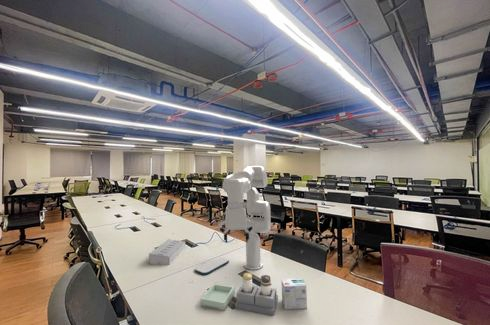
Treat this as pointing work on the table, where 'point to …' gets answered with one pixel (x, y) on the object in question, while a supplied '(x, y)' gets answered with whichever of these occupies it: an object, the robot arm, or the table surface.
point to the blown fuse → (265, 285)
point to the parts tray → (218, 297)
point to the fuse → (247, 283)
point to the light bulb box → (294, 293)
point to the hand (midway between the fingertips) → (236, 241)
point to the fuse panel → (256, 301)
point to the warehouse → (166, 252)
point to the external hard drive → (211, 265)
